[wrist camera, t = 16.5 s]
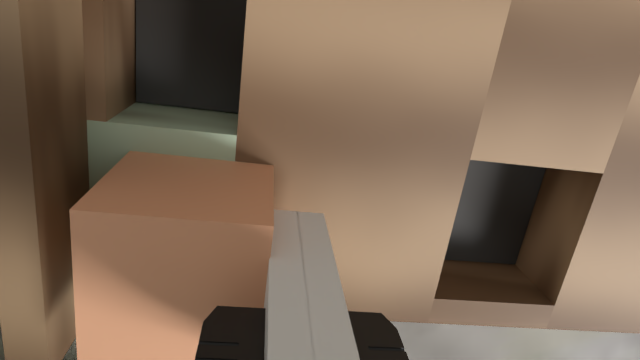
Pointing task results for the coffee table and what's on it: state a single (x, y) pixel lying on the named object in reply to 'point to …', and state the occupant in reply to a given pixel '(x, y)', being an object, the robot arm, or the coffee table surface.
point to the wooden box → (344, 145)
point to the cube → (167, 252)
